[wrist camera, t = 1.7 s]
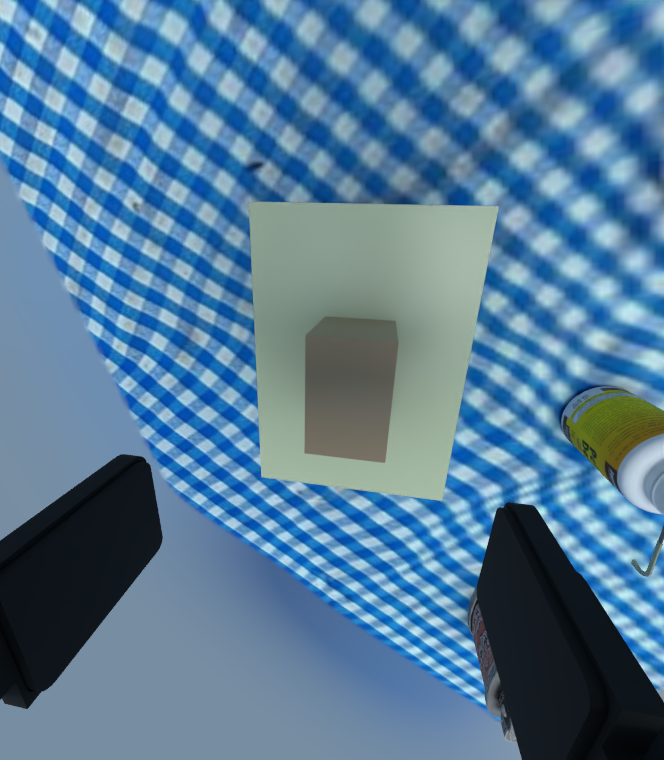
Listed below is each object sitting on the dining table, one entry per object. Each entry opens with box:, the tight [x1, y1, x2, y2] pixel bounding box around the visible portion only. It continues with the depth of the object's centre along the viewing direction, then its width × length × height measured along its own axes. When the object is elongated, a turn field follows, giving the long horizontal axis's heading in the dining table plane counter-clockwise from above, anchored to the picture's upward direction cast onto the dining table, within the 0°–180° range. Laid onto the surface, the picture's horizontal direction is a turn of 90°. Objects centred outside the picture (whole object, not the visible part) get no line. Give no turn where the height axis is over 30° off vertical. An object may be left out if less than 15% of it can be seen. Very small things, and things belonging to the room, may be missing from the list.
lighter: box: [468, 587, 517, 742], centre depth 30 cm, size 8×3×10 cm, turn 177°
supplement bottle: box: [561, 386, 664, 515], centre depth 22 cm, size 6×6×10 cm
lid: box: [249, 202, 499, 501], centre depth 19 cm, size 18×13×8 cm
